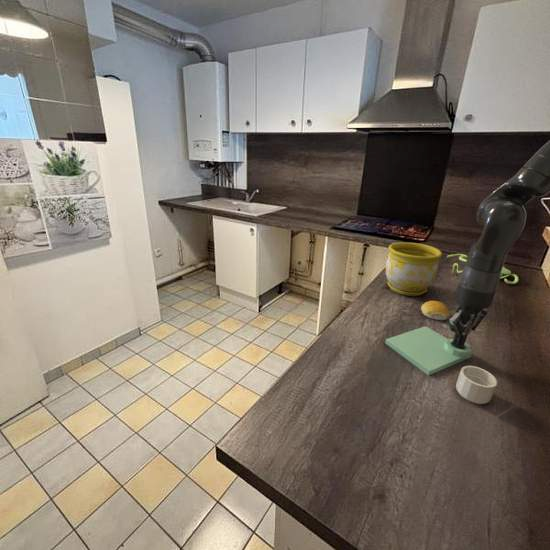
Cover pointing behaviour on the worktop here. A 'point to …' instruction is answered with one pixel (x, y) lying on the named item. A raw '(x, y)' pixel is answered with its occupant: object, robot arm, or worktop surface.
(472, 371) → the bowl
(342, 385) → the worktop surface
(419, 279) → the flowerpot
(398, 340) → the scale
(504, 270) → the figurine
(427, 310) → the bread roll
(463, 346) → the power button
